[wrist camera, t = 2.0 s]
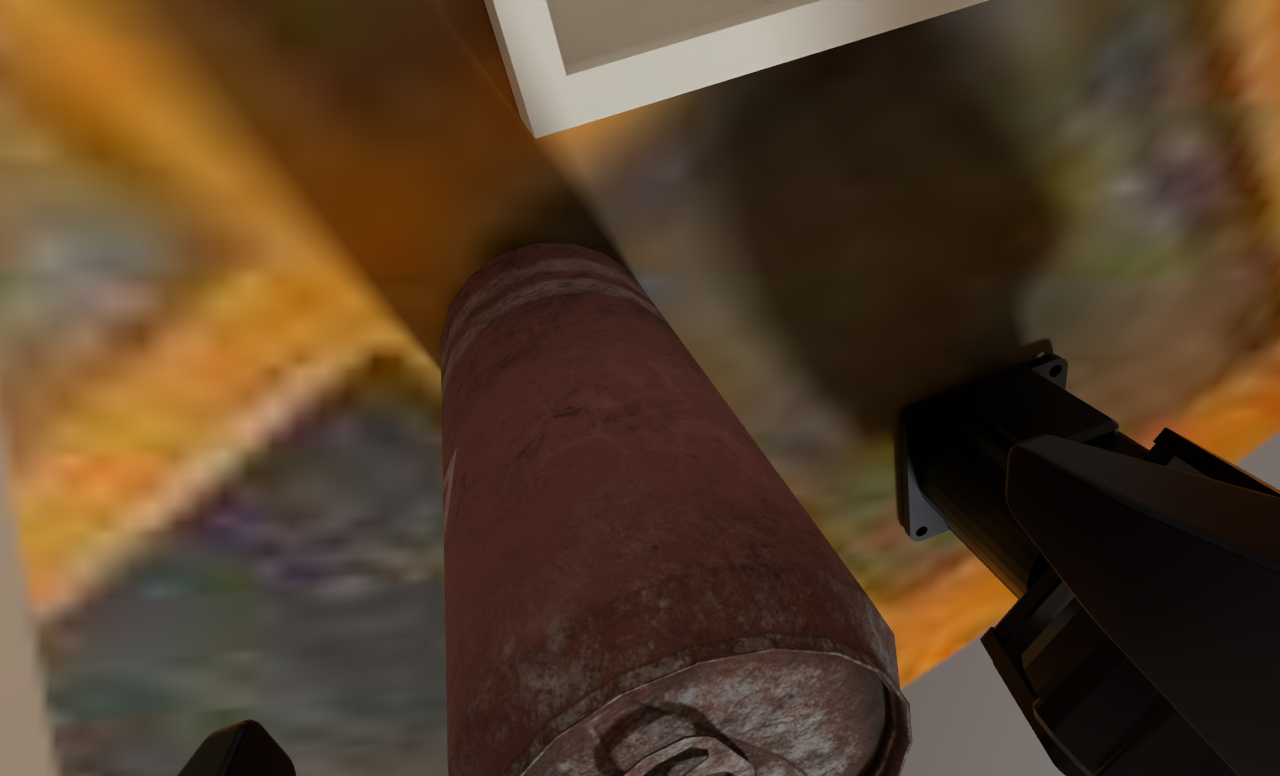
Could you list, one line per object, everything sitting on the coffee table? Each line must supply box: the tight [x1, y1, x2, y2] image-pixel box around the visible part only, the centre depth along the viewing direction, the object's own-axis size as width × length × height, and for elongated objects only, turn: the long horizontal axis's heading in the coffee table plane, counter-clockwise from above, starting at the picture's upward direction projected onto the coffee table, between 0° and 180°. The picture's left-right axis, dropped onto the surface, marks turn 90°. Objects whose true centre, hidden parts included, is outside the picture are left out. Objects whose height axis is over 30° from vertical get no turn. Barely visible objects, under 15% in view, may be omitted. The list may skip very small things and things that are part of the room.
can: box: [441, 243, 912, 776], centre depth 14 cm, size 6×6×14 cm
